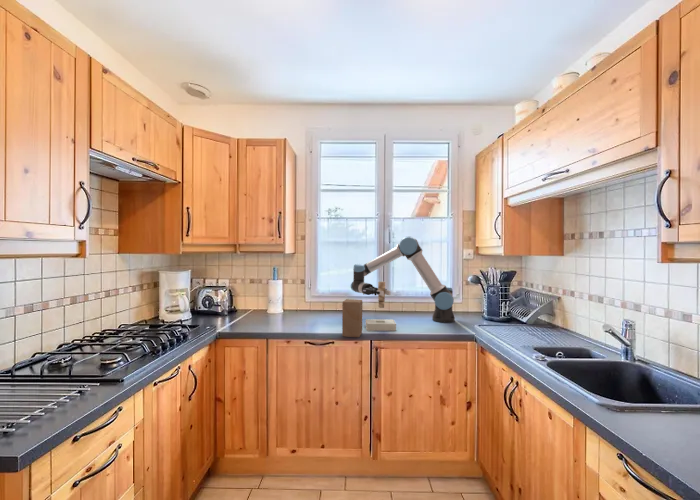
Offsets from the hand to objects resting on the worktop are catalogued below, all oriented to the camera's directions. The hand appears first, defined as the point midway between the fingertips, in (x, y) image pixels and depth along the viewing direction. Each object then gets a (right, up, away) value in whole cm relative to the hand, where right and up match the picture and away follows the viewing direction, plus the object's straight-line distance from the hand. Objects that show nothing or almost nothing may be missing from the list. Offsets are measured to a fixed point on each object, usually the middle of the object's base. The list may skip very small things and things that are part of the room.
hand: (386, 293), depth 224 cm
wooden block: (-21, -23, -12) cm, 34 cm away
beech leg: (-3, -9, +5) cm, 11 cm away
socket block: (-3, -22, +5) cm, 23 cm away
